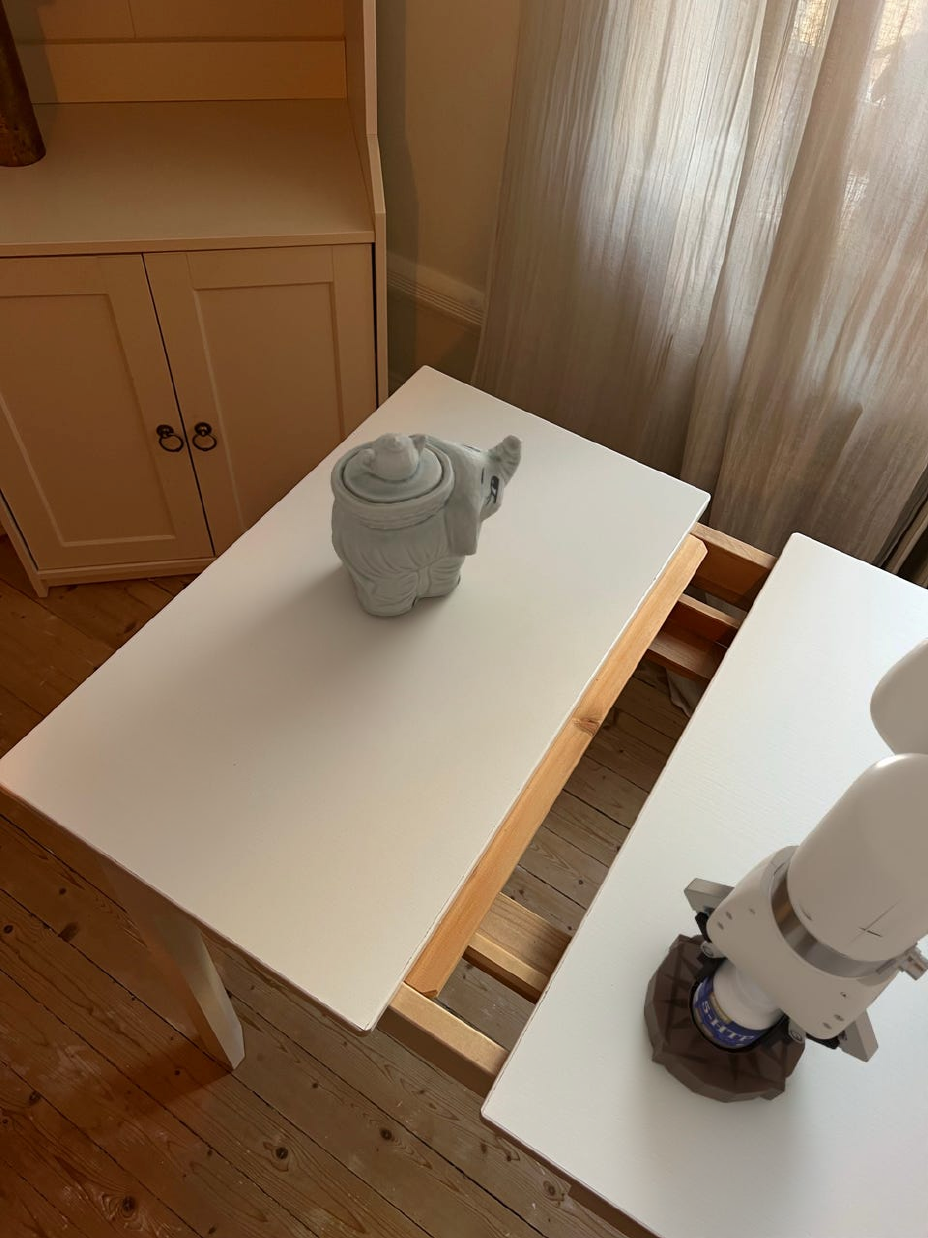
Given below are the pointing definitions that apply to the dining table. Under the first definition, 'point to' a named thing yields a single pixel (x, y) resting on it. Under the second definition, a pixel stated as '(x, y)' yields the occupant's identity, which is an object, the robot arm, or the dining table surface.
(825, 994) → the robot arm
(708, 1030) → the pill bottle
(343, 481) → the teapot
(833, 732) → the dining table surface
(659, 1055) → the socket plate
